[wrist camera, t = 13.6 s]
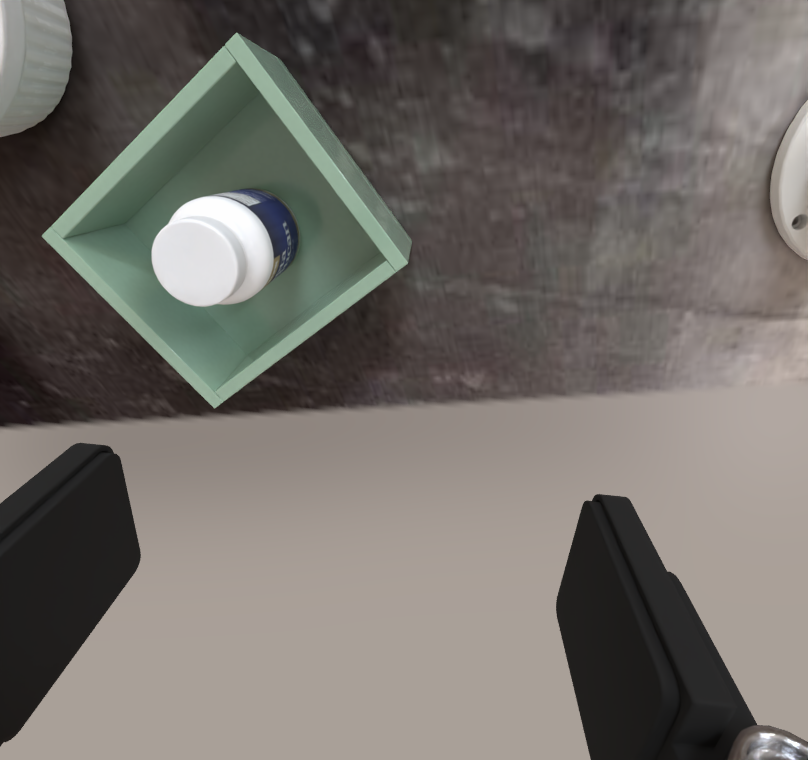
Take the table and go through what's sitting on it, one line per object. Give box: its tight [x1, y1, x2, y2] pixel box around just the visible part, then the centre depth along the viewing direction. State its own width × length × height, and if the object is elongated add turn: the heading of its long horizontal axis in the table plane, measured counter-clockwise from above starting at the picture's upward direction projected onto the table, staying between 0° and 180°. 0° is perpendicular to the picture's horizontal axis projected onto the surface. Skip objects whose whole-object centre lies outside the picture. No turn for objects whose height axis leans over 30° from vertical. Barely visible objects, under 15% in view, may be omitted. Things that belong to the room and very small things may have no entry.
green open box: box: [42, 33, 412, 408], centre depth 29 cm, size 15×13×7 cm
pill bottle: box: [151, 188, 300, 307], centre depth 27 cm, size 5×5×10 cm
